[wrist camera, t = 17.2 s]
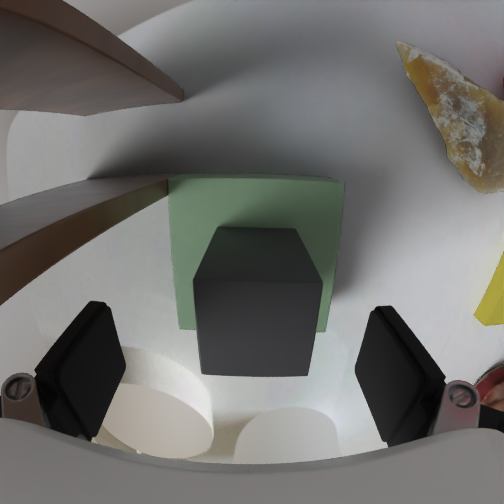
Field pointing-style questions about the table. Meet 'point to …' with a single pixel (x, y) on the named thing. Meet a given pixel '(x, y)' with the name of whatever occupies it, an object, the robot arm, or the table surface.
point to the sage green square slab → (251, 222)
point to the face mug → (492, 389)
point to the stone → (461, 117)
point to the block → (256, 303)
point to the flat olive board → (493, 299)
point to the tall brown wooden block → (75, 103)
